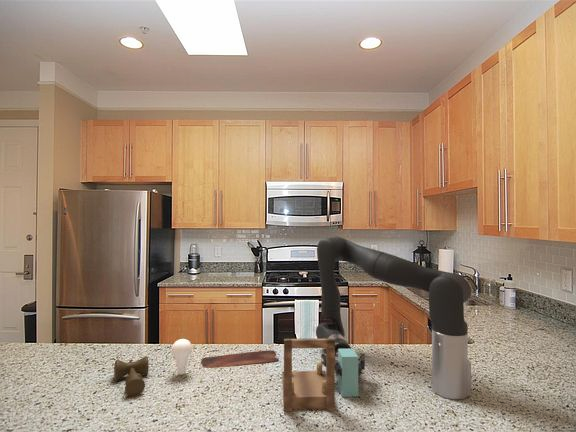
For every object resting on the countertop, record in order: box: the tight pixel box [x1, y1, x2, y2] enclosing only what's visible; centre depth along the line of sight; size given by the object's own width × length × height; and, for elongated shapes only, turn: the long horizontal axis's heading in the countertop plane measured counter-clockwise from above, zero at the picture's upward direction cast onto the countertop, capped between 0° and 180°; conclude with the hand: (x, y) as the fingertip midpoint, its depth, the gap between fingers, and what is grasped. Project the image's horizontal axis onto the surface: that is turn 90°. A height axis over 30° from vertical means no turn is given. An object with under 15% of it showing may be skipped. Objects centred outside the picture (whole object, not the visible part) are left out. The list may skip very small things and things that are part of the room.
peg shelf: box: [281, 338, 336, 413], centre depth 95 cm, size 13×16×18 cm
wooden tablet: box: [200, 349, 280, 369], centre depth 119 cm, size 26×2×10 cm
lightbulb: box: [171, 338, 193, 376], centre depth 107 cm, size 6×6×11 cm
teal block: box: [337, 348, 359, 398], centre depth 97 cm, size 4×6×11 cm
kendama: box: [113, 355, 150, 398], centre depth 102 cm, size 6×10×20 cm
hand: (350, 372), depth 94 cm, fingers closed on teal block, 4 cm apart
